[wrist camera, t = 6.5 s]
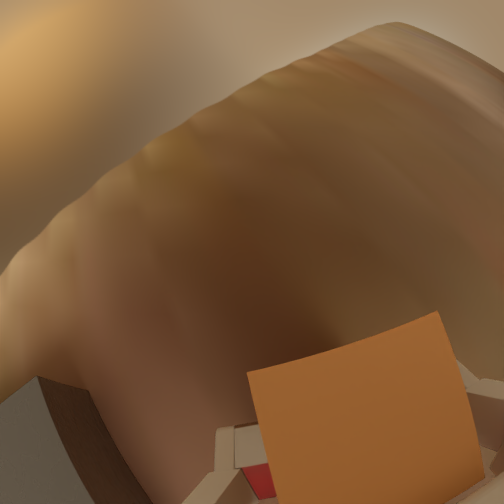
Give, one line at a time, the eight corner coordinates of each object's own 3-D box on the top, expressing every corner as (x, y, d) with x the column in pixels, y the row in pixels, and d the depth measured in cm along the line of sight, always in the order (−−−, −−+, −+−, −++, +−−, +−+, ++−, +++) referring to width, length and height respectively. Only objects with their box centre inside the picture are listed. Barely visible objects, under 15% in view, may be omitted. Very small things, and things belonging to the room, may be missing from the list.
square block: (360, 371, 12) (436, 310, 5) (383, 451, 10) (484, 477, 3) (273, 397, 12) (246, 372, 5) (294, 479, 10) (293, 557, 3)
